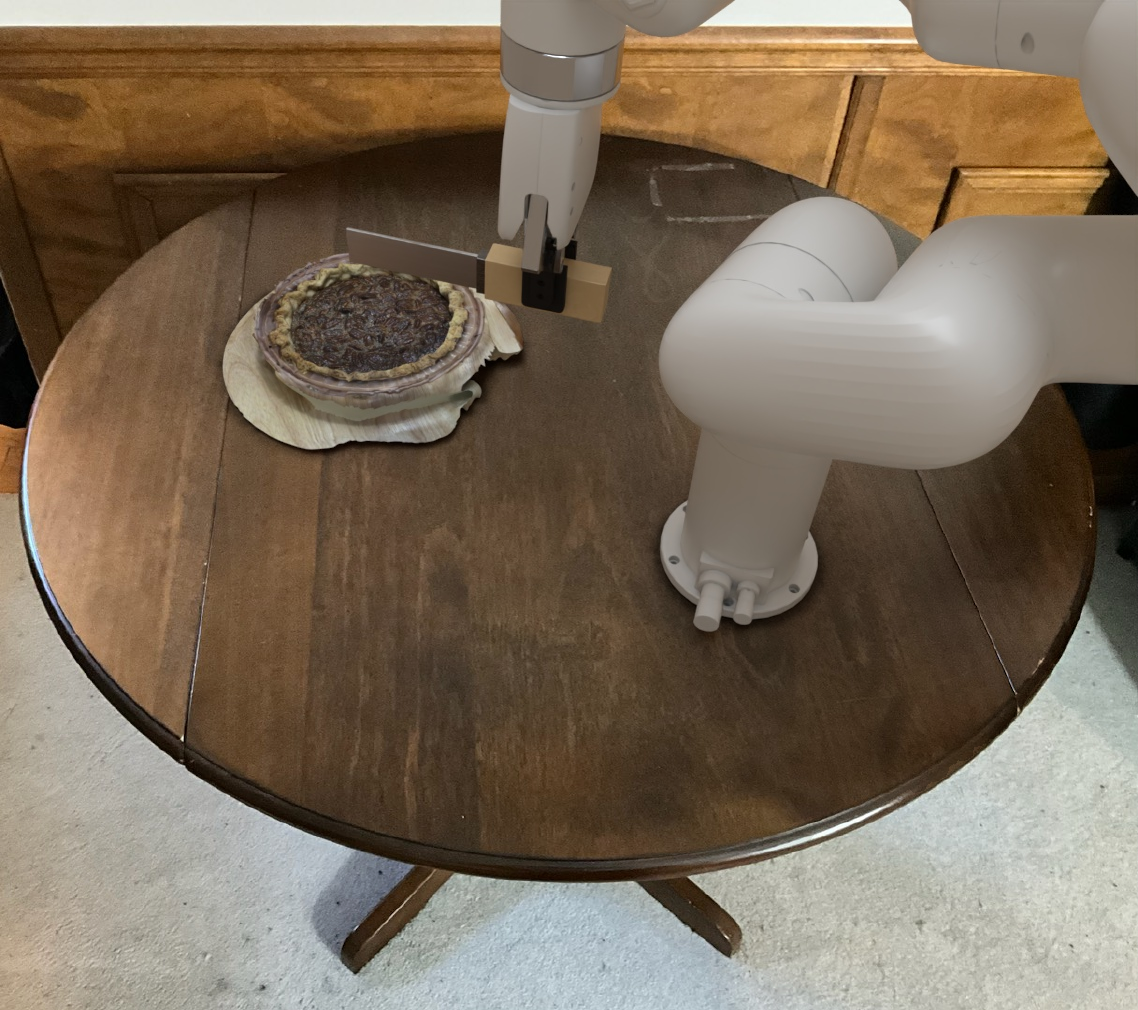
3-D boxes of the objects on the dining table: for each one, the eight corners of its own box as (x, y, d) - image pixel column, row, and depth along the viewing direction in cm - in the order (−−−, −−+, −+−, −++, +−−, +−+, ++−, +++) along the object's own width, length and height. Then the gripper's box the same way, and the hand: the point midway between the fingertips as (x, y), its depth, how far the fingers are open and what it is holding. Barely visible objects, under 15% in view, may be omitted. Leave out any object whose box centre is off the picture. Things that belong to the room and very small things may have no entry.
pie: (197, 454, 89) (183, 412, 86) (250, 261, 107) (240, 220, 103) (523, 454, 91) (524, 413, 87) (522, 264, 109) (522, 223, 105)
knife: (607, 305, 78) (612, 267, 76) (600, 324, 77) (605, 285, 74) (355, 252, 80) (351, 212, 78) (344, 269, 79) (340, 229, 76)
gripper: (535, -10, 69) (526, 225, 83) (463, 110, 59) (468, 354, 73) (645, 9, 68) (618, 242, 82) (592, 134, 58) (572, 376, 72)
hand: (547, 293), depth 78 cm, fingers closed on knife, 2 cm apart
